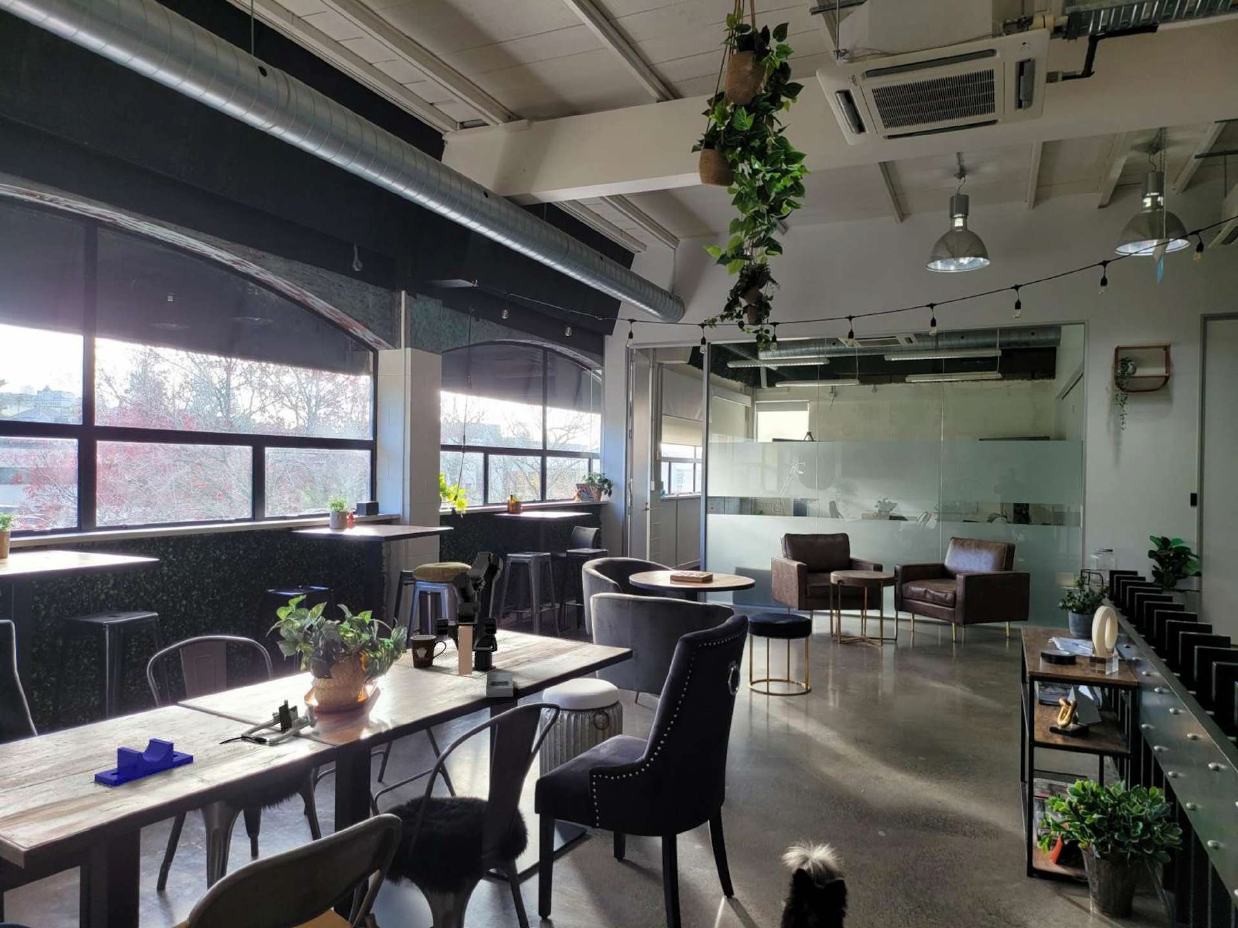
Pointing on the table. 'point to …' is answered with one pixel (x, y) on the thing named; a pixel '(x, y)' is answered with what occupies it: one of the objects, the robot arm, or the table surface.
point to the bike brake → (281, 724)
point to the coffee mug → (424, 650)
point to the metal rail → (499, 685)
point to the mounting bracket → (143, 763)
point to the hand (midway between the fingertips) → (465, 649)
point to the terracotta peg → (465, 650)
